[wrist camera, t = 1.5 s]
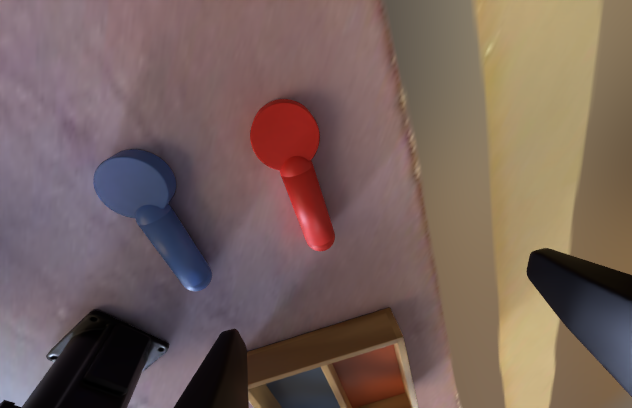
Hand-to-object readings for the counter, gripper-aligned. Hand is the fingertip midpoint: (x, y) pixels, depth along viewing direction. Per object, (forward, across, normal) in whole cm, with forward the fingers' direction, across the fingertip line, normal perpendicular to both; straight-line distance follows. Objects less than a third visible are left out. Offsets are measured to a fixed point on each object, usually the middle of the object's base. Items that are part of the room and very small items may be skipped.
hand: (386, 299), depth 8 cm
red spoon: (+11, +2, 0) cm, 11 cm away
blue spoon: (+11, +11, +1) cm, 15 cm away
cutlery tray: (+11, +3, +22) cm, 25 cm away
